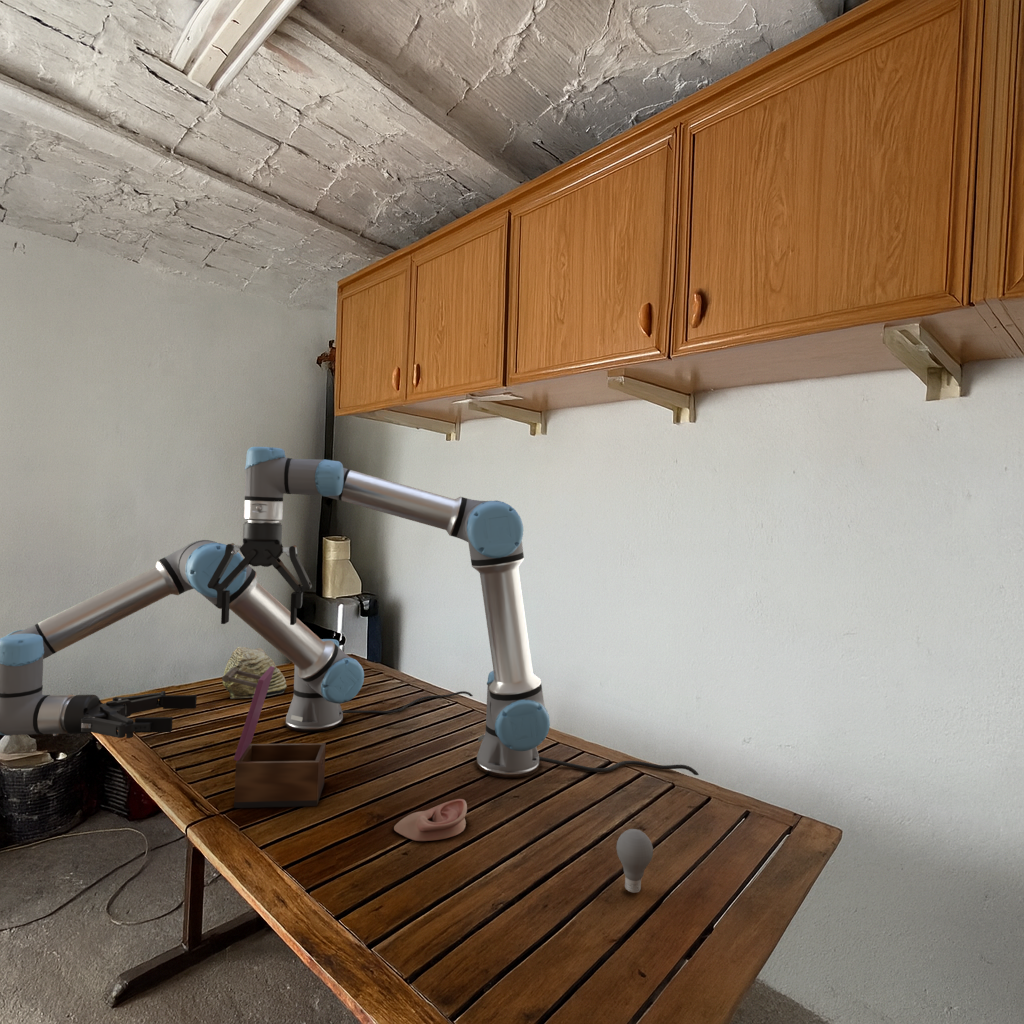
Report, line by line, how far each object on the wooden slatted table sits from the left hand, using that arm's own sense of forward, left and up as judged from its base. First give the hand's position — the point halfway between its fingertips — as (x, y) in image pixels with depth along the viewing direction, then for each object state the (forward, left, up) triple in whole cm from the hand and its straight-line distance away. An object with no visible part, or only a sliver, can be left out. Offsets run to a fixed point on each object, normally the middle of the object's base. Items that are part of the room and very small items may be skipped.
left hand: (184, 712), depth 130 cm
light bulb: (-36, +85, -18) cm, 94 cm away
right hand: (-10, +10, +19) cm, 23 cm away
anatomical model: (-27, +46, -18) cm, 56 cm away
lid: (-10, +10, 0) cm, 14 cm away
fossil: (-45, -52, -18) cm, 71 cm away
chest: (-14, +13, -18) cm, 27 cm away
